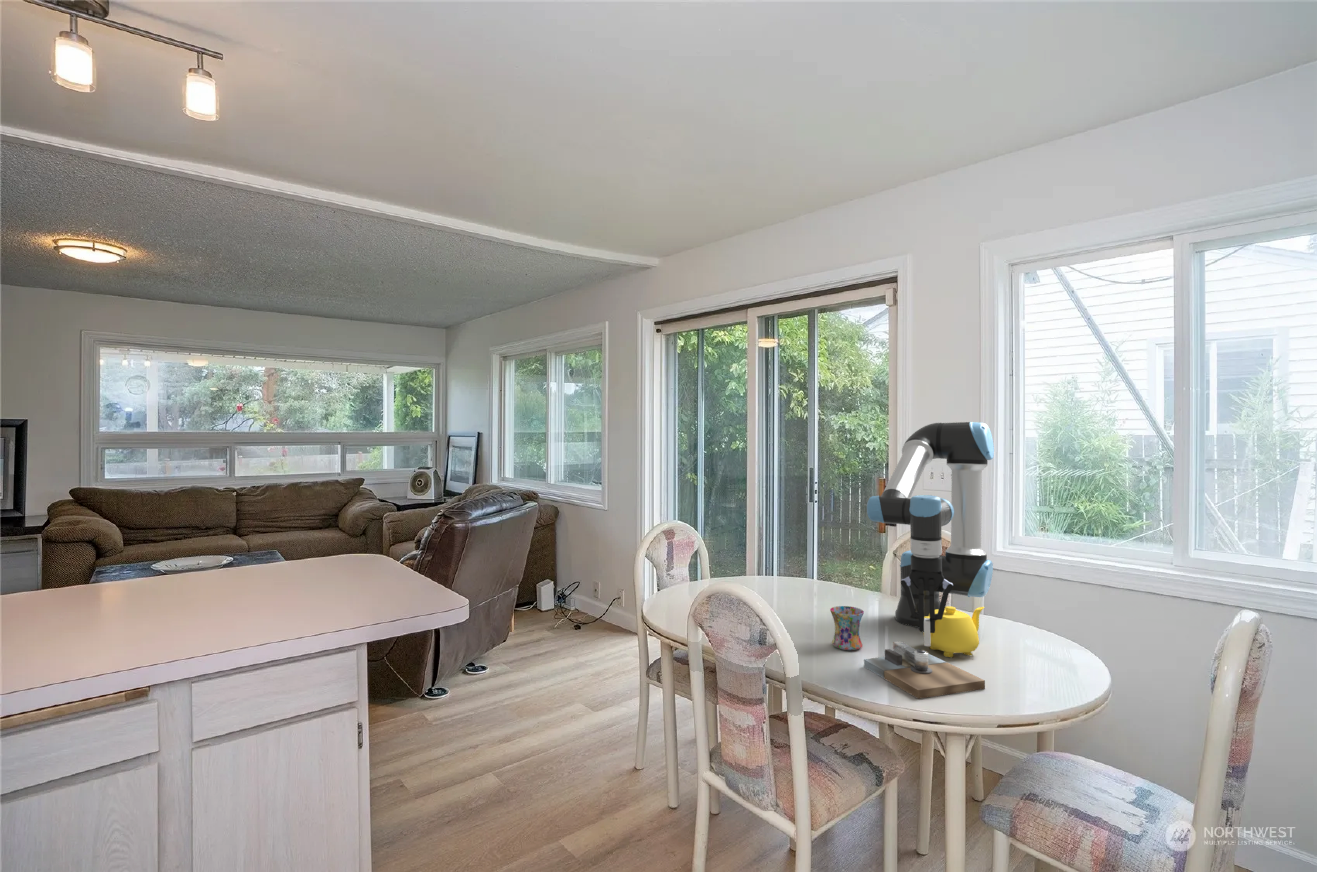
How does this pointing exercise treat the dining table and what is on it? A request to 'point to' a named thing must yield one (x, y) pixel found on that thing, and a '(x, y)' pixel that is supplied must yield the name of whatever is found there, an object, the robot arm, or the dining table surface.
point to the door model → (923, 676)
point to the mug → (847, 627)
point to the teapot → (956, 632)
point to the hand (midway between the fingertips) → (927, 644)
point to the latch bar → (912, 655)
